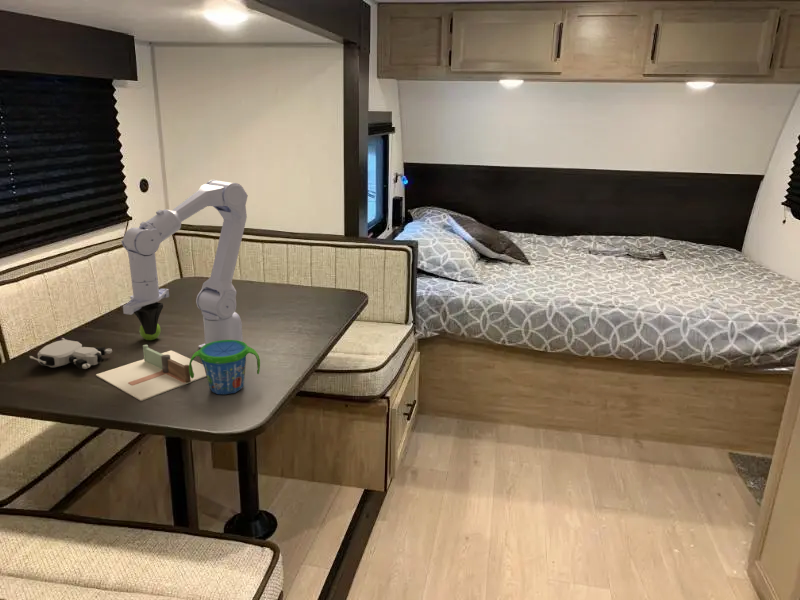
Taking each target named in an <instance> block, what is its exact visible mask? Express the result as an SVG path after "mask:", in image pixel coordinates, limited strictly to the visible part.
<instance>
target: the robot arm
mask: <svg viewBox="0 0 800 600" xmlns="http://www.w3.org/2000/svg"><path fill="white" fill-rule="evenodd" d="M247 200H248V193H247V192H246V190H245V189H244V187H243V186H242V185H241V184H240V183H237V182H230V181H229V182H228V181H223V180H218V179H210V180H208V181H207V182H206V183H204V184H201V185H200V187H199V189H198V190H197V191H195V192H193V193H192V194H191V195H190V196H189V197H187V198H186V199H185V200H184V201H182V202H181V203H180V204H178V205H176V207H174V208H173V209H172V210H171V209H167V208H166V209H158V210H157V211H156V212H155V213H156V214H155V215H153V216H152V217H151V218H149V219H148V220H147V221H142V222H140V223H139V227H130V228H129V229H128V230H126V231H125V234H124V235H123V238H122V240H121V244H122V246H123V248H124V249H125V250H126V252H127V255H128V261H129V262H128V263H129V271H130V272H129V273H130V278H131V288H132V294H131V295H130V296H129V299H130V300H129V301H128V302H127V303H126V304H124V305H122V311H123V314H124V315H131V316H132V315H133V314H134V315H135V316H136V318H137V319H138V321H139V322H140V324H141V325H142V327H143V329H144V332H145V334H149V335H153V334H155V333H156V329H157V323H158V324H159V322H158V321H159V319H160V316H161V312H162V310H163V309H164V304H163V303H162V302H159V301H161V300H162V299H164V298H169V297H170V292H169V290H170V289H169V288H159V287H160V286H159V281H158V280H159V279H158V269H157V258H156V253H157V252H158V250H159V248H160V245H161V244H162V242H164V241H165V240H167V239H168V238H169V237H171V236H172V235H174V234H175V233H177V232H178V231H180V230H181V228H182V222H184V221H186V220H187V219H189V218H190V217H192V216H194V215H195V214H197V213H199V212H201V210H203V209H205V208H207V207H213V208H214V209H216V210H217V211H218V214H219V215H220V216H221V218H222V219H223V222H222V226H221V230H220V234H219V239H218V244H217V248H216V252H215V255H214V256H215V257H214V260H213V265H212V270H211V274H210V277H209V278H208V279H206V281H204V282H203V283H202V287H201V290H200V291H199V292H198V294H197V295H196V300H195V304H196V306H197V309H199V311H201V315H202V321H203V333H204V343H202V344H199V345H198V348H200V349H201V347H203V346H204V345H206V344H208V343H211V342H215V341H220V340H238V341H241V342H244V340H243V339H244V338H243V323H242V319H241V317H240V315H239V313H237V312H236V309H237V300H236V299H237V297H236V296H237V290H236V288H235V286H234V285H233V283H232V282H233V279H234V273H235V270H236V266H237V265H236V264H237V261H238V256H239V252H240V248H241V244H242V239H243V235H244V233H245V232H244V231H245V227H246V222H247V218H248V217H247V207H246V205H247Z"/></svg>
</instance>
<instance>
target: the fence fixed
mask: <svg viewBox="0 0 800 600" xmlns="http://www.w3.org/2000/svg"><path fill="white" fill-rule="evenodd" d="M161 359H162V368H163V372H164V373H168V372H169V373H170V374H172V375H174V376H176V377H178V378H180V379H182V380H184V381H185V382H186V383H188V382H191V380H190V373H189V365H182V364H180V363H178V362H176V361H174V360H172V359H170V355H162V356H161ZM191 383H192V382H191ZM188 384H189V383H188Z"/></svg>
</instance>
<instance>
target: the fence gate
mask: <svg viewBox="0 0 800 600" xmlns="http://www.w3.org/2000/svg"><path fill="white" fill-rule="evenodd" d="M142 351H143V359H144V361H147V362H149V363H151V364H153V365H155V366H157V367H159V368H161V369H163V368H162V359H161V356H162V355H163V354H161V353H162V352H159V351H157V350H155V349H152V348H150V347H149V345H148V344H143V345H142Z"/></svg>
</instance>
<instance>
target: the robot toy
mask: <svg viewBox="0 0 800 600" xmlns="http://www.w3.org/2000/svg"><path fill="white" fill-rule="evenodd" d="M112 352H113V350H112V348H105V346H102V347H89V346H83V344H82V343H80V341H75V340H69V339H66V338H64V337H62V338H61V340H56V341H53V342H52V343H49V344H47V345H45V346H44V347H42V348H41V349H40V350H39V351H37V358H36V357H34V356H32V355H29V359H31V360H35V361H37V362H38V363H39V364H40V365H41V366H47V367H49V368H53V369H55V368H58V367H61V366H62V367H63V366H66V365H69V364H70V363H71V364H74V365H75V366H76V368H78V369H80V370H81V369H82V370H83V369H84V370H86V369H88V368H90V367H91V366H96V365H98V364H99V363H102V361H103V356H106V354H109V355H110V354H112Z"/></svg>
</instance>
